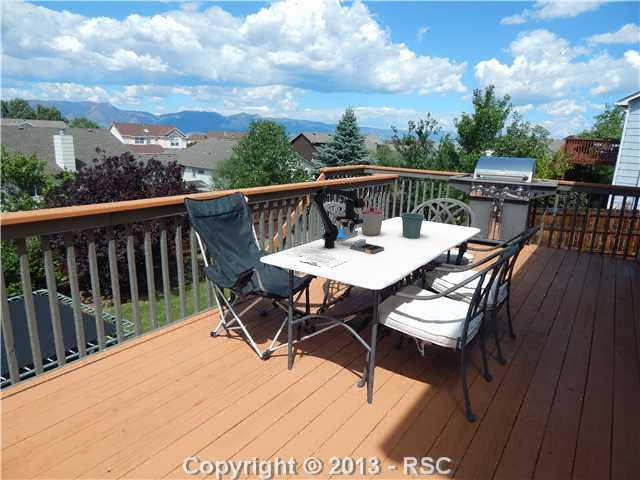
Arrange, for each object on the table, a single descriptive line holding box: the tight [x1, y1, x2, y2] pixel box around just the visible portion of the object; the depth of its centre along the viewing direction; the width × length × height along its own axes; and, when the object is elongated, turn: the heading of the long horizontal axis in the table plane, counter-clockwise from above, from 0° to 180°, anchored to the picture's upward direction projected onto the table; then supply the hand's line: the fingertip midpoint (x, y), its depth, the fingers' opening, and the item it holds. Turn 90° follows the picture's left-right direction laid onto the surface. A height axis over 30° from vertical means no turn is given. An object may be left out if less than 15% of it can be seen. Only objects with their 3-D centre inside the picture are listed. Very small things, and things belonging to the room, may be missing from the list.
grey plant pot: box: [358, 206, 385, 237], centre depth 301 cm, size 18×18×21 cm
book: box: [321, 228, 359, 243], centre depth 293 cm, size 17×4×25 cm
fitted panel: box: [353, 238, 367, 247], centre depth 262 cm, size 9×3×5 cm, turn 139°
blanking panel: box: [342, 225, 356, 236], centre depth 268 cm, size 9×3×5 cm, turn 139°
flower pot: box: [400, 212, 425, 239], centre depth 296 cm, size 16×16×16 cm
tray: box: [301, 252, 347, 268], centre depth 240 cm, size 20×28×4 cm
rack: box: [349, 242, 385, 255], centre depth 259 cm, size 13×19×3 cm
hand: (349, 232), depth 269 cm, fingers closed on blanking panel, 3 cm apart
